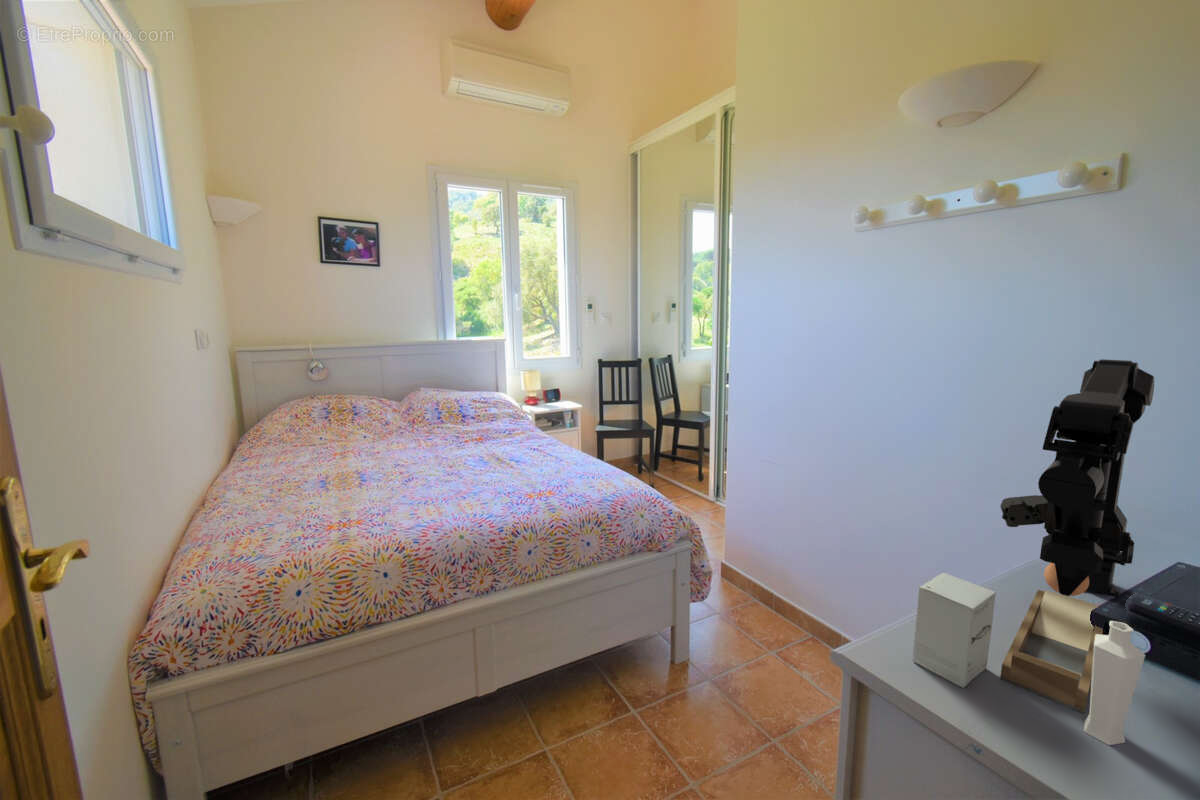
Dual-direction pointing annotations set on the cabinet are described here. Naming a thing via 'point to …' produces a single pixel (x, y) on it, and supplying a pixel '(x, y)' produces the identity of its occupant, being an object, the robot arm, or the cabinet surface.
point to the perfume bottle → (1112, 683)
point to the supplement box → (953, 628)
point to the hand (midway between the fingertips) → (1065, 586)
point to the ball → (1053, 583)
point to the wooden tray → (1054, 650)
